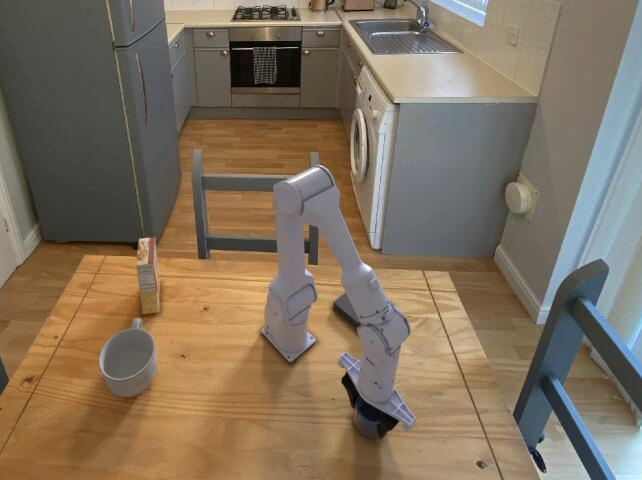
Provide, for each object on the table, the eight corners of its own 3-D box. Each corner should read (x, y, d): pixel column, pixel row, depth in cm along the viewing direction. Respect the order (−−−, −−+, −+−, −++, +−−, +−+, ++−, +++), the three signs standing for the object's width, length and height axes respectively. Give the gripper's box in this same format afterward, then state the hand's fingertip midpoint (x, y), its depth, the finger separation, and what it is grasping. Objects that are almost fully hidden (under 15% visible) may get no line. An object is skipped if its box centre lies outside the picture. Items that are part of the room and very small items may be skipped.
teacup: (146, 411, 79) (141, 384, 76) (93, 400, 81) (87, 372, 78) (171, 344, 92) (168, 318, 89) (125, 335, 94) (121, 310, 91)
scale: (330, 309, 99) (331, 299, 98) (359, 286, 105) (360, 276, 104) (374, 348, 90) (376, 336, 89) (403, 320, 96) (405, 309, 95)
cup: (347, 420, 77) (349, 405, 76) (365, 400, 80) (368, 385, 79) (371, 447, 73) (374, 431, 72) (390, 425, 76) (393, 409, 75)
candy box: (144, 285, 107) (137, 238, 101) (161, 283, 107) (155, 236, 101) (142, 315, 99) (135, 265, 93) (160, 312, 99) (154, 263, 93)
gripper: (430, 387, 68) (418, 438, 73) (357, 325, 79) (351, 373, 84) (406, 417, 64) (395, 468, 69) (332, 347, 75) (327, 396, 80)
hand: (369, 418), depth 76 cm, fingers closed on cup, 5 cm apart
